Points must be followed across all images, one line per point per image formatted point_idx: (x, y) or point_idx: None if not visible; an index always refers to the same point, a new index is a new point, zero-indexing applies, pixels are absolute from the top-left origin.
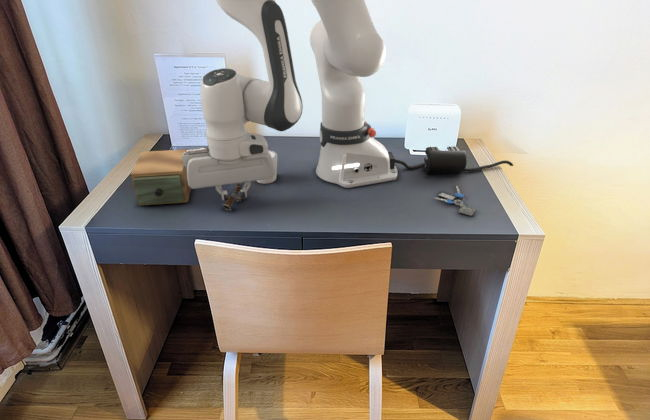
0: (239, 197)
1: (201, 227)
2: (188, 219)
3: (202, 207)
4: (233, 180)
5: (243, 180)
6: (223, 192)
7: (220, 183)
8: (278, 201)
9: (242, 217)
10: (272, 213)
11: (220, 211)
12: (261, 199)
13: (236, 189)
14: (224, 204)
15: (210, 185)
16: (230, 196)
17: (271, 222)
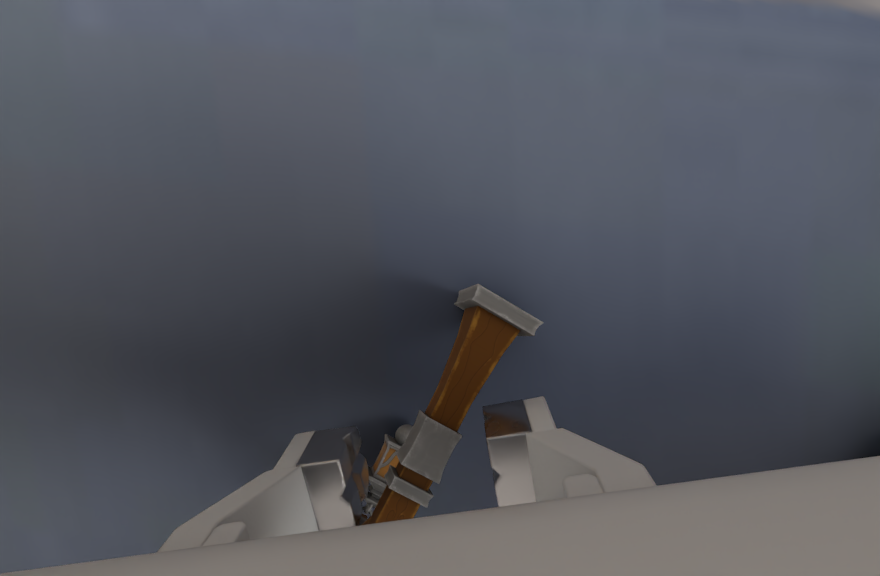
0: (387, 463)
1: (727, 29)
2: (848, 191)
3: (713, 379)
4: (355, 560)
5: (195, 562)
6: (534, 467)
7: (595, 512)
8: (66, 398)
9: (347, 172)
10: (85, 212)
11: (552, 296)
12: (213, 445)
13: (392, 519)
14: (517, 324)
15: (776, 478)
16: (459, 434)
17: (69, 53)
